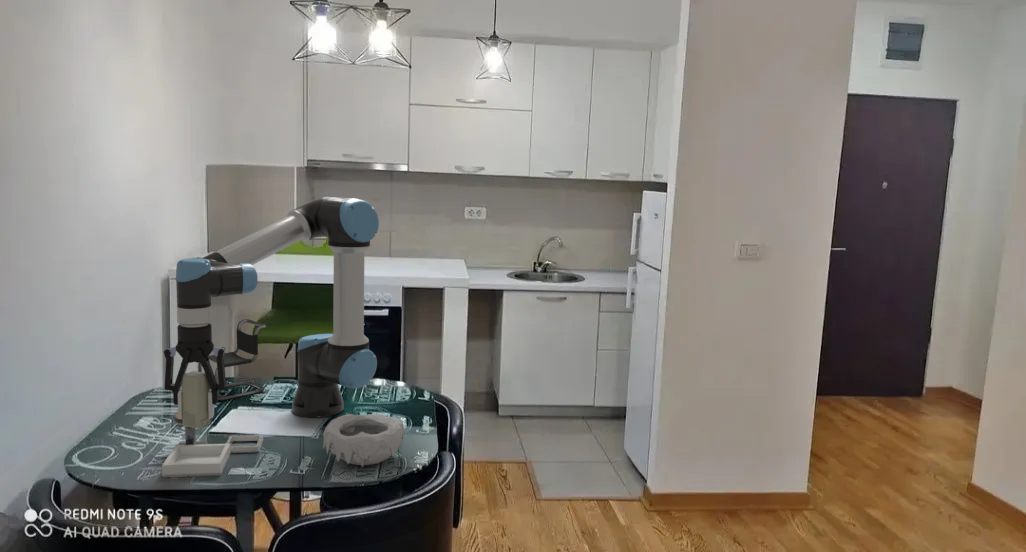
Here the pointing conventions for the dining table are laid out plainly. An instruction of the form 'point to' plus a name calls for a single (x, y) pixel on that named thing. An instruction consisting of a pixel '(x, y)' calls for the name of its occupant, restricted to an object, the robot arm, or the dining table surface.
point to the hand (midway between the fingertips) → (196, 416)
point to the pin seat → (245, 448)
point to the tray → (196, 460)
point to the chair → (232, 359)
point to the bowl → (363, 438)
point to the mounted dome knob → (188, 433)
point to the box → (195, 399)
